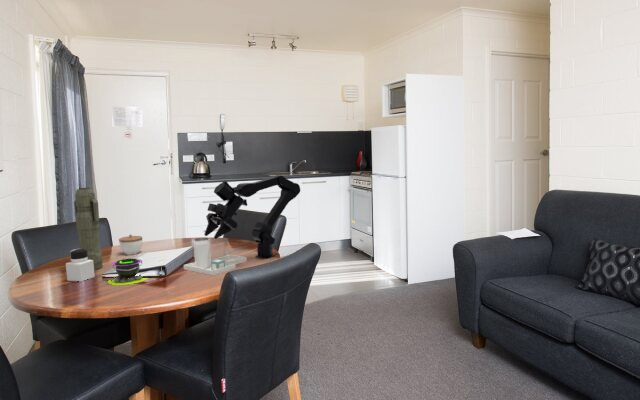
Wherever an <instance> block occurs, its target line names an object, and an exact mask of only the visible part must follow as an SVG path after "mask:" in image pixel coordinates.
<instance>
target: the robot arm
mask: <svg viewBox="0 0 640 400" xmlns="http://www.w3.org/2000/svg"><path fill="white" fill-rule="evenodd" d="M274 186H278V188H279V189H281V190H280V196H279V198H278V199H277V201H276V202H275V204H274V205H273V207H272V208H271V209H270V210H269V213H268V214H267V215H266V217H265V218H264V219H263V221H261V222H260V221H257V222H256V223H255V224H254V226H253V227H252V228H251V229H252V230H251V236H252V239H254V241H255V243H256V244H257V248H256V249H257V254H256V255H255V258H261V259H269V258H271V257H275V256H276V254H275V253H273V245H274V244H275V240H276V239H275V238H274V236H272V233H273V228H274V227H273V226H274V225H275V223H276V222H277V220H278V219H279V218H280V216H281V215H282V213H283V212H284V210H285V209H286V207H287V206H288V204H289V203H290V202H291V201H292V200H294V199H296V197H298V195H299V194H300V192H301V187H300V185H299V184H298V183H297V182H294V181H292V180H290V179H288V178H286V177H285V176H284V175H281V174H279V175H274V176H271V177H268V178H264V179H261V180H258V181H254V182H242V183H238V184H237V185H236V186H231V185H230V184H229V183H228V182H227V181H226V180H223V181H222V182H221V183H219V184H218V185H217V186H215V188H214V190H213V193H214V194H215V195H217V196H218V197H219V198H220V199H221V200H222V201H223V202H225V201H227V202H226V203H225V204H222V203H220V202H218V203H216V204H215V203H210V202H209V204H208V207H207V211H208V212H209V213H208V214H207V215H206V220H207V226H206V229H205V230H204V231H205V232H204V234H203V235H204V237H208V235H210V234H211V233H213V232H215V230H216V232H215V234H214V236H213V238H214V239H215V240H217V239H219V238H221V237H222V236H224V235H226V234H227V233H230V232H233V230H236V229H237V228H238V222H237V221H236V220H234V219H233V218H234V216H235V217H237V215H238V213H237V212H238V211H239V210H240V209H241V206H245V207H247V206H248V202H247V199H245V198H250V197H252V196H253V195H256V194H257V193H258V192H259V191H262V190H265V189H268V188H272V187H274ZM242 197H243V198H242Z"/></svg>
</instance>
